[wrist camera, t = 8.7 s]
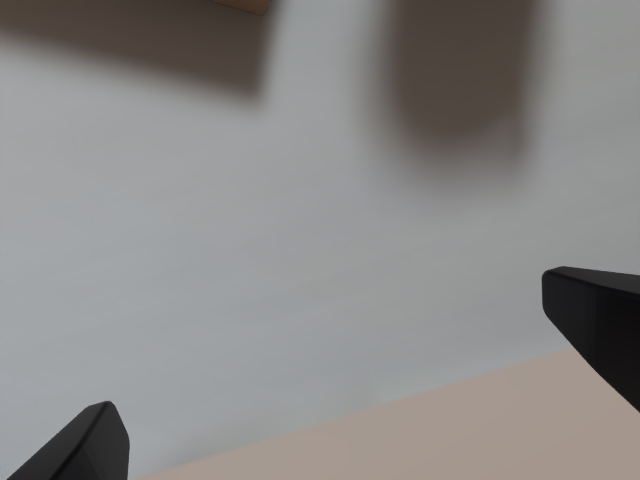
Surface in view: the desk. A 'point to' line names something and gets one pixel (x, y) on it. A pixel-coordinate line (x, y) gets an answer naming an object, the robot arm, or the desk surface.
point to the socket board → (247, 5)
